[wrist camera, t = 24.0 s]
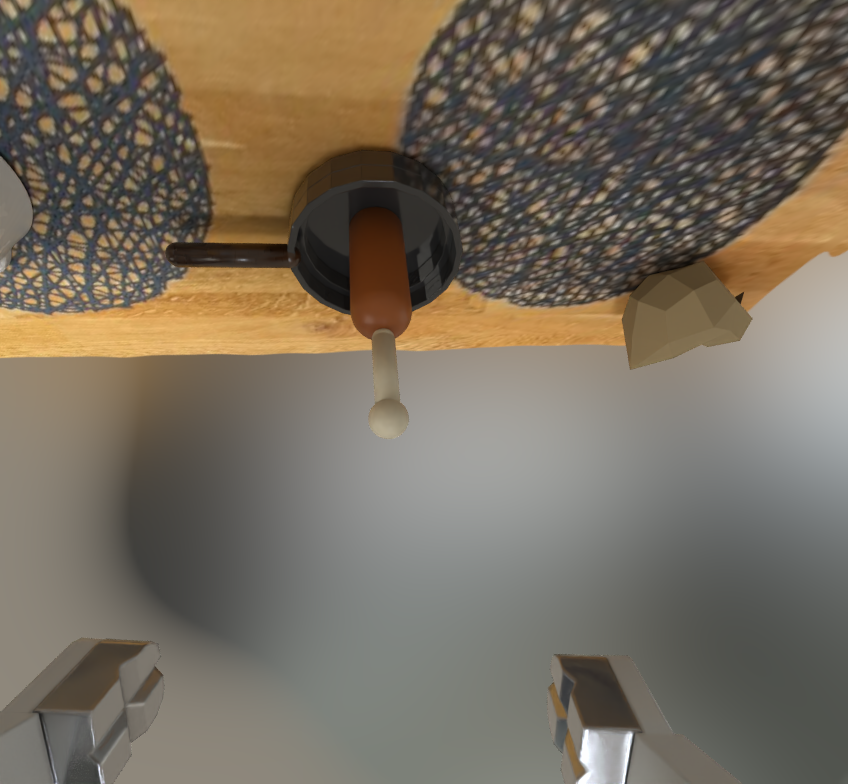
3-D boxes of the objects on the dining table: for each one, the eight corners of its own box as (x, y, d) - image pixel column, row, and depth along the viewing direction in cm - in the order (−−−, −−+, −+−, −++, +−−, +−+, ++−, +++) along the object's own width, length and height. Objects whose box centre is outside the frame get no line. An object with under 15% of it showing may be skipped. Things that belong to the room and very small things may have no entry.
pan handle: (173, 255, 37) (168, 272, 36) (164, 236, 36) (158, 253, 35) (303, 257, 39) (302, 272, 38) (300, 239, 37) (299, 254, 36)
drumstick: (350, 251, 42) (354, 453, 31) (347, 205, 38) (351, 421, 27) (401, 251, 43) (422, 449, 32) (404, 207, 39) (430, 418, 28)
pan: (303, 286, 46) (301, 318, 44) (276, 142, 33) (271, 176, 31) (442, 286, 48) (448, 317, 46) (468, 151, 35) (478, 184, 33)
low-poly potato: (588, 290, 52) (608, 367, 57) (646, 315, 42) (664, 405, 47) (702, 231, 51) (712, 315, 56) (788, 243, 41) (789, 343, 47)
